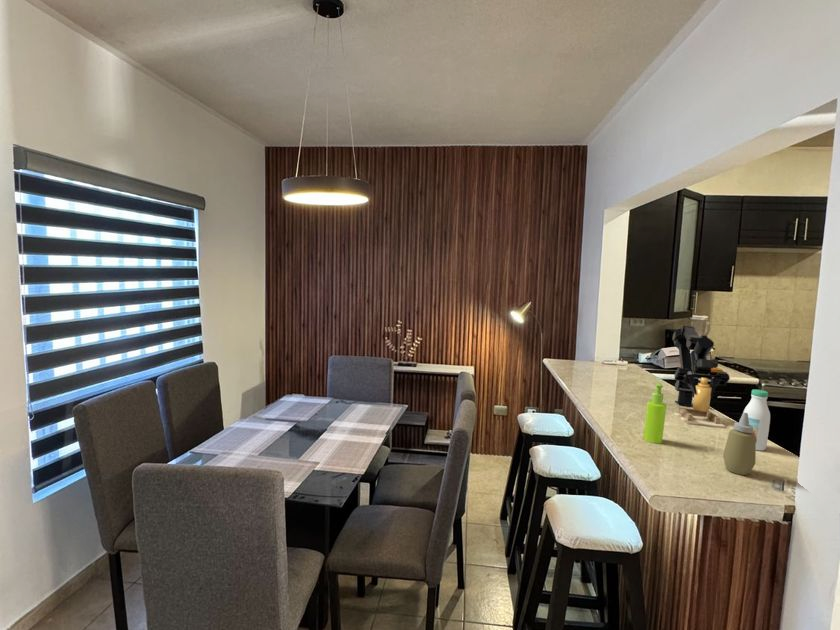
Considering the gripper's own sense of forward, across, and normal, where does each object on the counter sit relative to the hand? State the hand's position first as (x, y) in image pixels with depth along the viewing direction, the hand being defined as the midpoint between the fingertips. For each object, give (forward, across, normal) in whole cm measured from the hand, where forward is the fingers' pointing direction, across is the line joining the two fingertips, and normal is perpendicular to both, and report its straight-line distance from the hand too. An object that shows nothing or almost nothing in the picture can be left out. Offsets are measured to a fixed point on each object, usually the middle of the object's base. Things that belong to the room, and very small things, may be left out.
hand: (703, 394), depth 184 cm
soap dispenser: (+31, -23, -15) cm, 42 cm away
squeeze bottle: (+44, -3, -28) cm, 52 cm away
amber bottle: (+4, 0, +6) cm, 7 cm away
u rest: (+7, 0, +9) cm, 11 cm away
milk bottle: (+25, +10, -9) cm, 28 cm away
